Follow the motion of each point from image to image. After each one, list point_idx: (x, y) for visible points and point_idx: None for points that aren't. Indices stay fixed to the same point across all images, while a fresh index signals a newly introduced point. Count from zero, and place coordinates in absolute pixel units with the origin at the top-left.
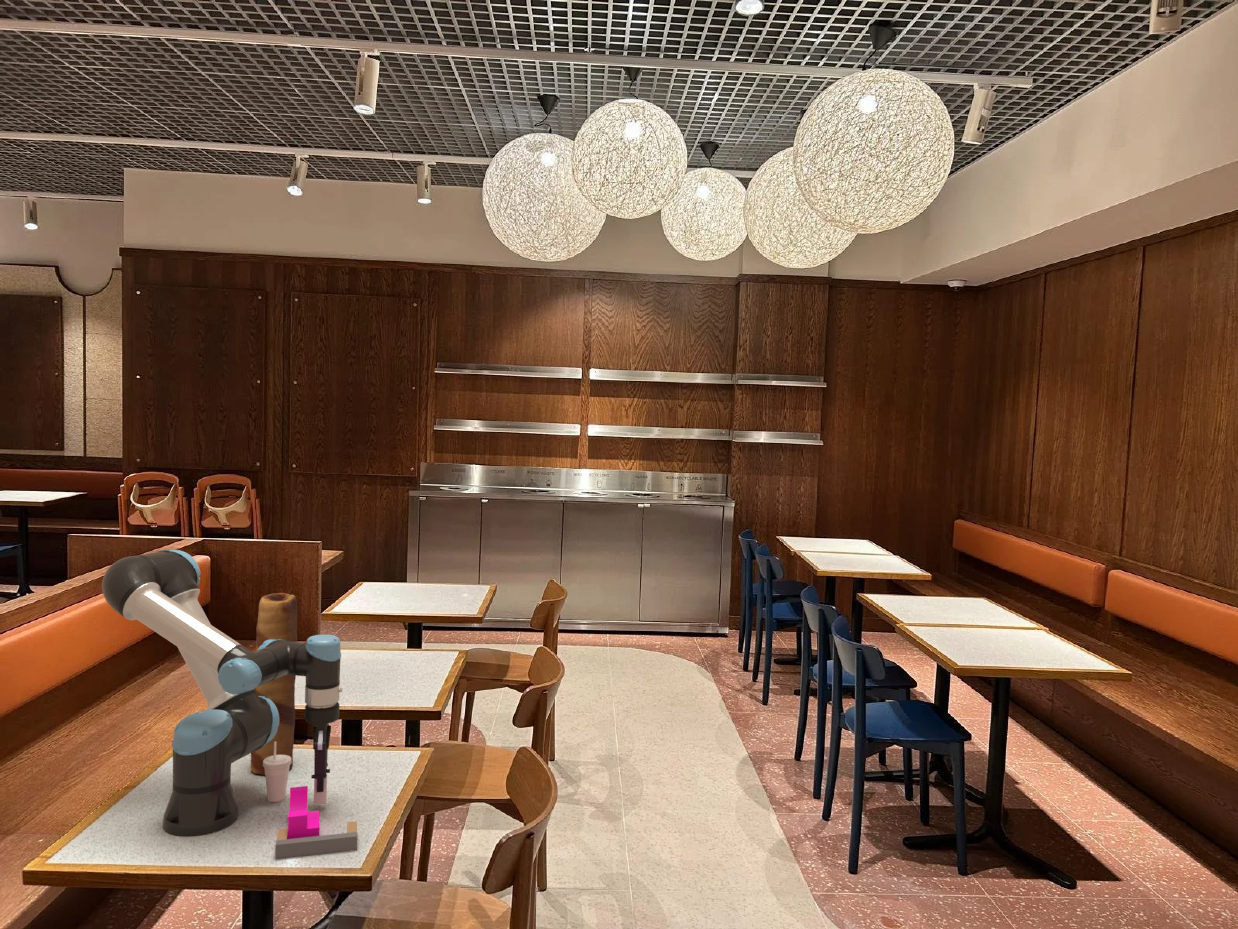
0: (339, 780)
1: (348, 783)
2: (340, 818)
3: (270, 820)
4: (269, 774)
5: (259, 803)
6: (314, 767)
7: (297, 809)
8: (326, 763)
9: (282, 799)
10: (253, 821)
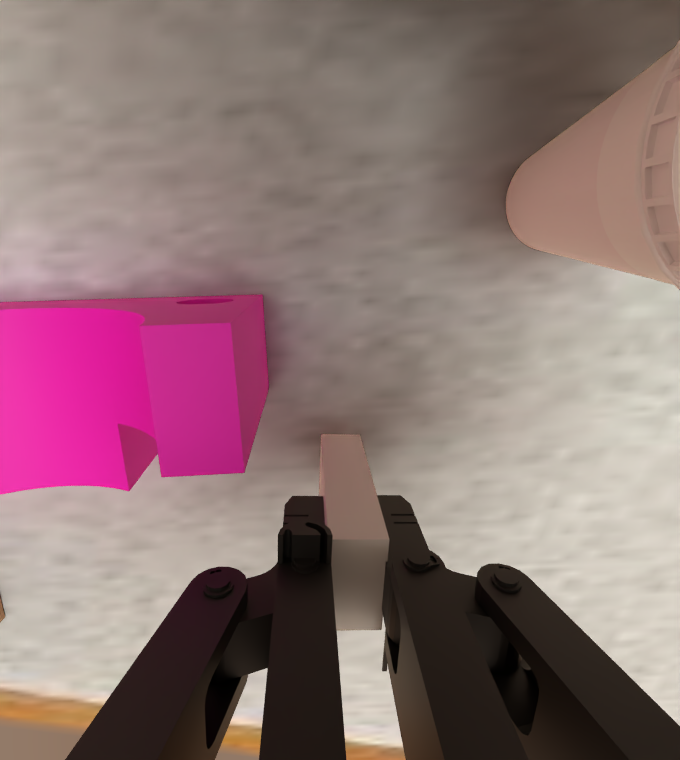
0: (674, 522)
1: (619, 562)
2: (222, 544)
3: (267, 180)
4: (639, 82)
5: (536, 89)
6: (104, 706)
7: (124, 365)
8: (400, 726)
9: (522, 238)
10: (274, 65)
